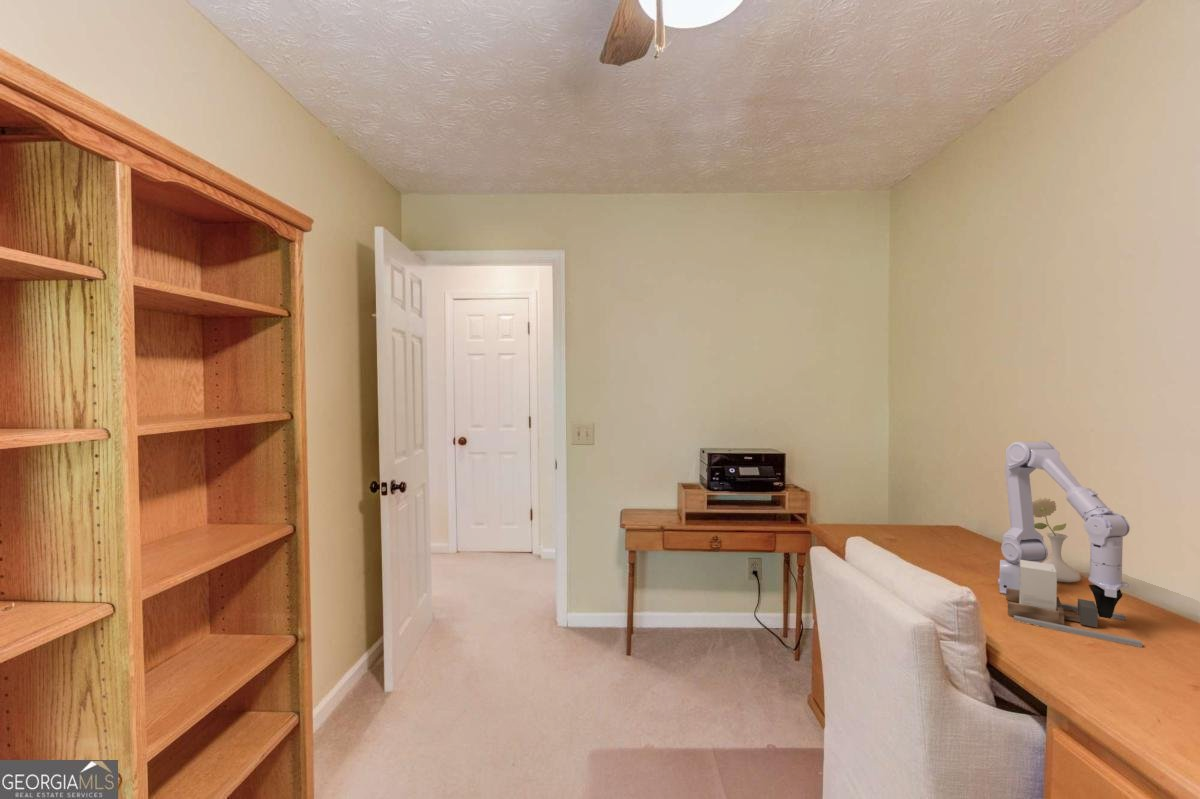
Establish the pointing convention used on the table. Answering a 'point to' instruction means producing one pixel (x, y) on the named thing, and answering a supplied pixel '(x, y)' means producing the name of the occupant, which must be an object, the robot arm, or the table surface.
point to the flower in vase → (1054, 541)
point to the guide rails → (1082, 631)
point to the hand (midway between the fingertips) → (1104, 616)
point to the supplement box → (1038, 585)
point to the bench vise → (1084, 616)
